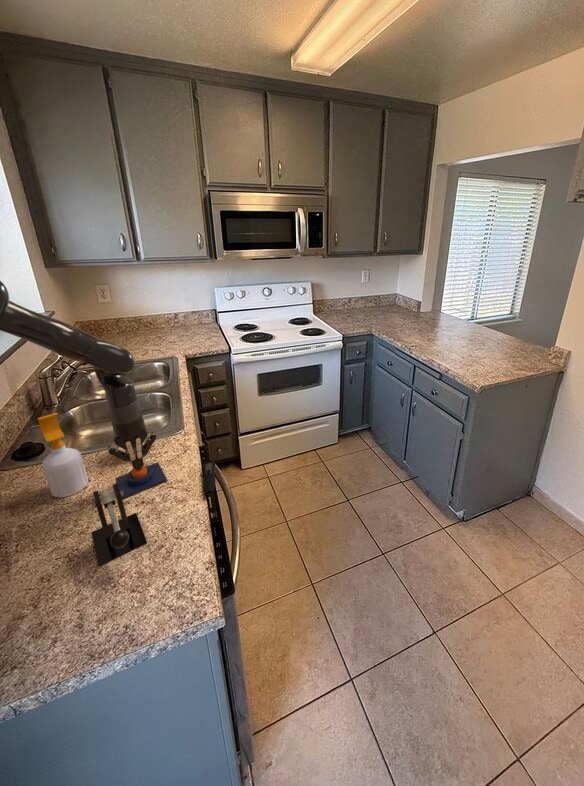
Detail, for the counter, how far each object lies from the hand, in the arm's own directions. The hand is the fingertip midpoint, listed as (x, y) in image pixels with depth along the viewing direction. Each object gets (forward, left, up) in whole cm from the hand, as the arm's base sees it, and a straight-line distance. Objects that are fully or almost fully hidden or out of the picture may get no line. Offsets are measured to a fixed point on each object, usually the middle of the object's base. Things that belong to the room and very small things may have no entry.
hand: (138, 468), depth 104 cm
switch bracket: (-9, -19, -6) cm, 22 cm away
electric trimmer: (+17, -11, -6) cm, 21 cm away
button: (0, 0, -2) cm, 2 cm away
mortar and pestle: (+2, +19, -6) cm, 20 cm away
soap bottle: (-17, +12, -6) cm, 22 cm away
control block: (0, 0, -6) cm, 6 cm away
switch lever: (-9, -23, +3) cm, 25 cm away
